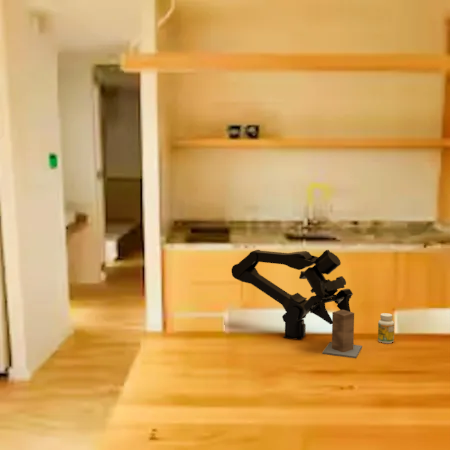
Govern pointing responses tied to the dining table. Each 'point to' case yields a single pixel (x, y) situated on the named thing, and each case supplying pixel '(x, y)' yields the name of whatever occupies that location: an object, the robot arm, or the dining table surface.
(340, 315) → the walnut block
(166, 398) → the dining table surface
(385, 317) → the supplement bottle
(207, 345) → the dining table surface
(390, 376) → the dining table surface
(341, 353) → the charcoal mat
